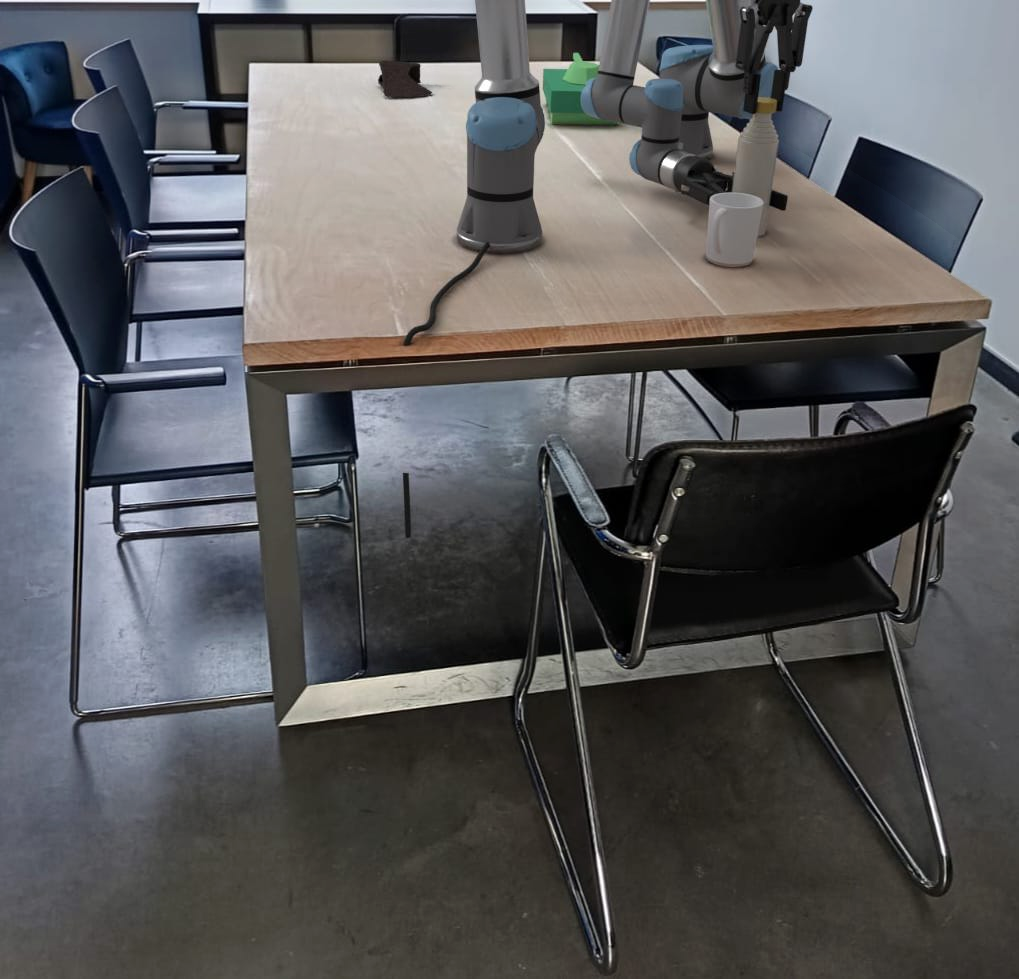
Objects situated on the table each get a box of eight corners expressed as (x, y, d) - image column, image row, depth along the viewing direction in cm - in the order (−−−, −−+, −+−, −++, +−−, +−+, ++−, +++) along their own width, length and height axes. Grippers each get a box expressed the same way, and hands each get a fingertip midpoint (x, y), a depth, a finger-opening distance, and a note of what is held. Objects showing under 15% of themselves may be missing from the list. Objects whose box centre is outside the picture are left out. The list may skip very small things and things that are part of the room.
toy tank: (607, 49, 292) (625, 75, 262) (604, 97, 299) (621, 128, 269) (541, 48, 291) (552, 74, 261) (539, 96, 298) (549, 127, 268)
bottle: (766, 227, 205) (784, 101, 194) (764, 238, 200) (783, 110, 188) (728, 223, 207) (744, 98, 195) (725, 235, 201) (741, 107, 189)
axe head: (443, 87, 294) (392, 77, 287) (436, 115, 299) (385, 106, 292) (421, 62, 307) (371, 52, 300) (414, 89, 311) (365, 80, 304)
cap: (781, 112, 192) (782, 100, 191) (763, 115, 189) (764, 104, 188) (761, 106, 195) (763, 96, 194) (743, 110, 192) (745, 99, 191)
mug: (719, 246, 195) (726, 189, 189) (764, 258, 190) (773, 199, 185) (687, 262, 187) (693, 203, 182) (733, 275, 183) (741, 214, 177)
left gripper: (751, -31, 173) (732, 120, 186) (840, -35, 180) (817, 111, 192) (724, -37, 179) (707, 110, 191) (811, -40, 186) (790, 102, 198)
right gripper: (725, 187, 220) (806, 218, 203) (645, 200, 211) (723, 234, 194) (730, 149, 216) (813, 178, 199) (649, 161, 207) (728, 192, 190)
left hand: (762, 110), depth 192 cm, fingers open, 5 cm apart
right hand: (768, 206), depth 197 cm, fingers closed on bottle, 7 cm apart
